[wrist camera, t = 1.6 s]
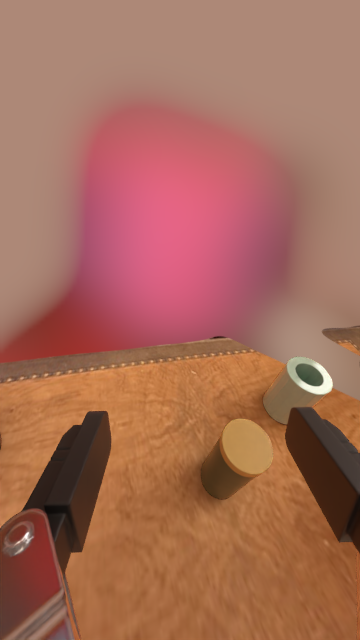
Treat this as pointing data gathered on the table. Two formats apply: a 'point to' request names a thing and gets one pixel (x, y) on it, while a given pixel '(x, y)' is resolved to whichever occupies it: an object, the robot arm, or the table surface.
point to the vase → (296, 388)
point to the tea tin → (236, 458)
